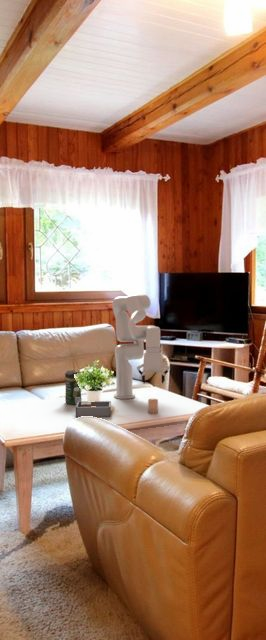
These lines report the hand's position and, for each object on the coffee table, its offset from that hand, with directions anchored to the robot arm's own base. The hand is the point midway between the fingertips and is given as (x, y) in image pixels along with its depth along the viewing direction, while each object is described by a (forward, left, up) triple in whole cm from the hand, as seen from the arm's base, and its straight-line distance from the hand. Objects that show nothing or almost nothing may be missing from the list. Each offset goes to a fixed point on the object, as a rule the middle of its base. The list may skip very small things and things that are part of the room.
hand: (153, 382), depth 279 cm
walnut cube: (0, -35, -15) cm, 38 cm away
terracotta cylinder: (0, 0, -16) cm, 16 cm away
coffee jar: (-23, -44, -16) cm, 52 cm away
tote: (+1, -31, -16) cm, 35 cm away
